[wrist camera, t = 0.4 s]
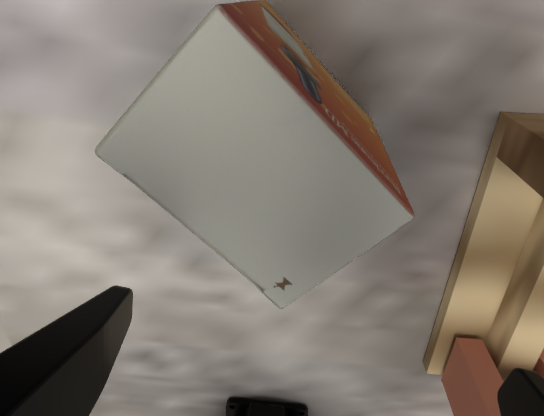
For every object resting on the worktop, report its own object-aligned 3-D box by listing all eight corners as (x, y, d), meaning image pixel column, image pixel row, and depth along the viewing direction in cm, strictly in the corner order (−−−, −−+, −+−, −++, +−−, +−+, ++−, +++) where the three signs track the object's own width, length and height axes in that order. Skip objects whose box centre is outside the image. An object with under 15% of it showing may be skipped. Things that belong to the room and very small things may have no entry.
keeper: (535, 387, 27) (586, 476, 22) (441, 379, 27) (470, 465, 22) (557, 345, 25) (618, 432, 20) (456, 337, 25) (491, 420, 20)
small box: (373, 119, 21) (425, 222, 11) (293, 185, 23) (283, 317, 14) (263, -7, 18) (216, -5, 9) (186, 80, 20) (86, 154, 11)
